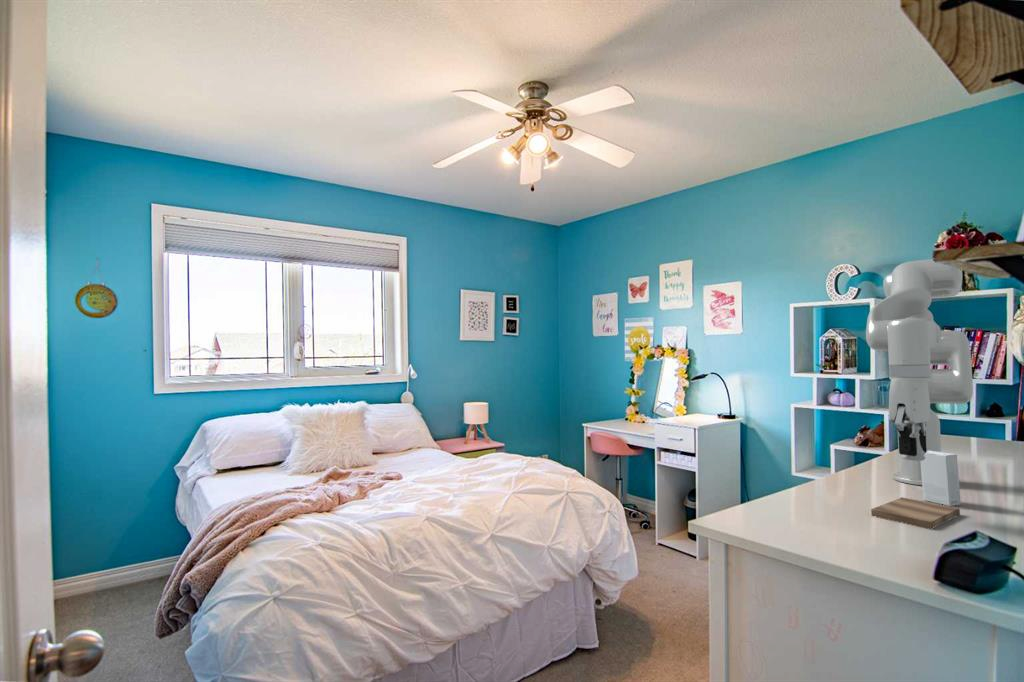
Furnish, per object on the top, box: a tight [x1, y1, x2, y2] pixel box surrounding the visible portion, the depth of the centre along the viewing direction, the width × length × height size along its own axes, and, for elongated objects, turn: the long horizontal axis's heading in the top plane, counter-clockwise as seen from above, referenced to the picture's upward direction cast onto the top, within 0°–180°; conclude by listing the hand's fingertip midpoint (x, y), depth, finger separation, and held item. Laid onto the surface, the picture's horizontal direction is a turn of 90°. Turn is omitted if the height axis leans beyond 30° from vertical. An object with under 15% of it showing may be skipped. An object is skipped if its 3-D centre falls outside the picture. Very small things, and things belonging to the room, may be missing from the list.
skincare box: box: [921, 451, 961, 507], centre depth 125 cm, size 6×4×12 cm
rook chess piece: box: [901, 424, 926, 461], centre depth 116 cm, size 4×4×8 cm
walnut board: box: [870, 496, 961, 530], centre depth 116 cm, size 16×11×2 cm
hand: (912, 452), depth 116 cm, fingers closed on rook chess piece, 4 cm apart
